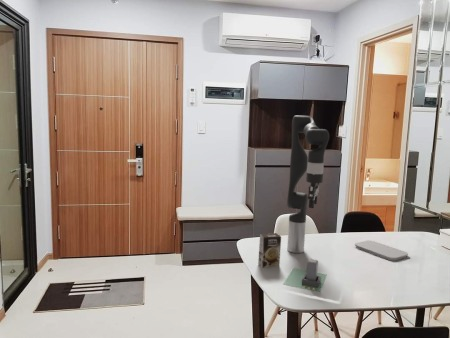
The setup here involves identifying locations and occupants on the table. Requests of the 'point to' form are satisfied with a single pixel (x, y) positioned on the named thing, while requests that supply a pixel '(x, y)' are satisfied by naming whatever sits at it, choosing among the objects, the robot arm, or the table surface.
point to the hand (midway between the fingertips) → (312, 205)
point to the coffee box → (269, 250)
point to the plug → (312, 270)
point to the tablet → (381, 250)
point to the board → (304, 280)
